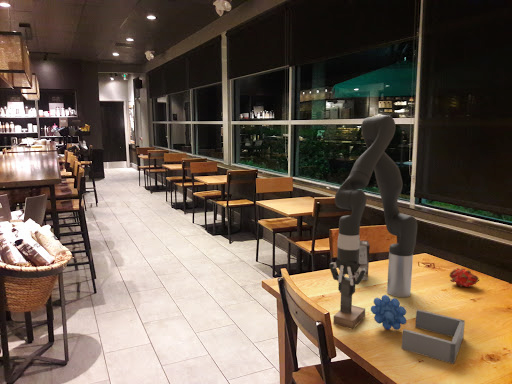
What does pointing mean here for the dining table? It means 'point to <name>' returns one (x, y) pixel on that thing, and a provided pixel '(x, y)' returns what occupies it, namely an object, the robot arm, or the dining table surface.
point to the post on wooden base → (348, 308)
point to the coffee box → (363, 258)
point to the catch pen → (432, 344)
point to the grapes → (389, 312)
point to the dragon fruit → (463, 277)
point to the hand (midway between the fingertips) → (346, 293)
